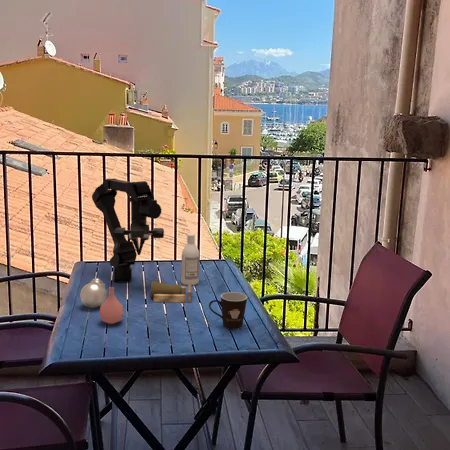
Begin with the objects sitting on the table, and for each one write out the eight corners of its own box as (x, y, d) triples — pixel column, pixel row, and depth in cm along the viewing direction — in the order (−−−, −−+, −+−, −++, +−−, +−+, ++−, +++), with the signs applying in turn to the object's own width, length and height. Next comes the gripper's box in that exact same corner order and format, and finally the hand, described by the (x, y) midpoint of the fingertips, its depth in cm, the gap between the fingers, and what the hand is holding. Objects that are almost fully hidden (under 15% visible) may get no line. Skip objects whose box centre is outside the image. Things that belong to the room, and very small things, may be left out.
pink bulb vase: (128, 321, 184) (128, 286, 182) (114, 329, 177) (114, 293, 175) (108, 316, 187) (108, 282, 185) (94, 324, 181) (94, 288, 178)
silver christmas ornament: (111, 308, 194) (111, 281, 192) (84, 313, 189) (84, 285, 187) (103, 300, 202) (102, 274, 199) (77, 304, 197) (76, 277, 195)
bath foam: (202, 283, 224) (203, 235, 220) (187, 286, 220) (189, 237, 216) (191, 279, 230) (193, 231, 225) (177, 282, 225) (178, 233, 221)
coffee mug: (249, 322, 187) (250, 294, 185) (241, 332, 179) (242, 302, 177) (216, 317, 190) (217, 289, 188) (207, 326, 182) (208, 297, 180)
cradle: (152, 301, 202) (152, 291, 201) (154, 292, 212) (154, 282, 212) (190, 302, 203) (191, 292, 202) (190, 292, 213) (191, 282, 212)
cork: (153, 280, 210) (182, 282, 210) (151, 296, 210) (181, 298, 210) (151, 281, 204) (181, 284, 204) (150, 298, 204) (180, 300, 204)
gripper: (110, 218, 203) (111, 260, 206) (162, 219, 204) (162, 260, 207) (114, 212, 214) (115, 252, 217) (164, 213, 215) (164, 253, 218)
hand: (139, 254), depth 214 cm, fingers closed
